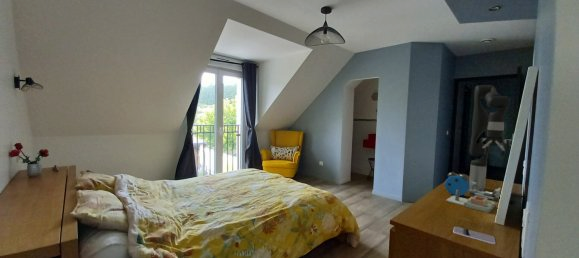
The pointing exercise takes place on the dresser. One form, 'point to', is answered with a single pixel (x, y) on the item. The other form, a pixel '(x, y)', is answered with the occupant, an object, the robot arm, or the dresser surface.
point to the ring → (479, 201)
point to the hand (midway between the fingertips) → (492, 155)
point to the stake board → (461, 200)
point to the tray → (485, 209)
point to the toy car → (484, 194)
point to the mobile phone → (474, 235)
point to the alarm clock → (457, 183)
